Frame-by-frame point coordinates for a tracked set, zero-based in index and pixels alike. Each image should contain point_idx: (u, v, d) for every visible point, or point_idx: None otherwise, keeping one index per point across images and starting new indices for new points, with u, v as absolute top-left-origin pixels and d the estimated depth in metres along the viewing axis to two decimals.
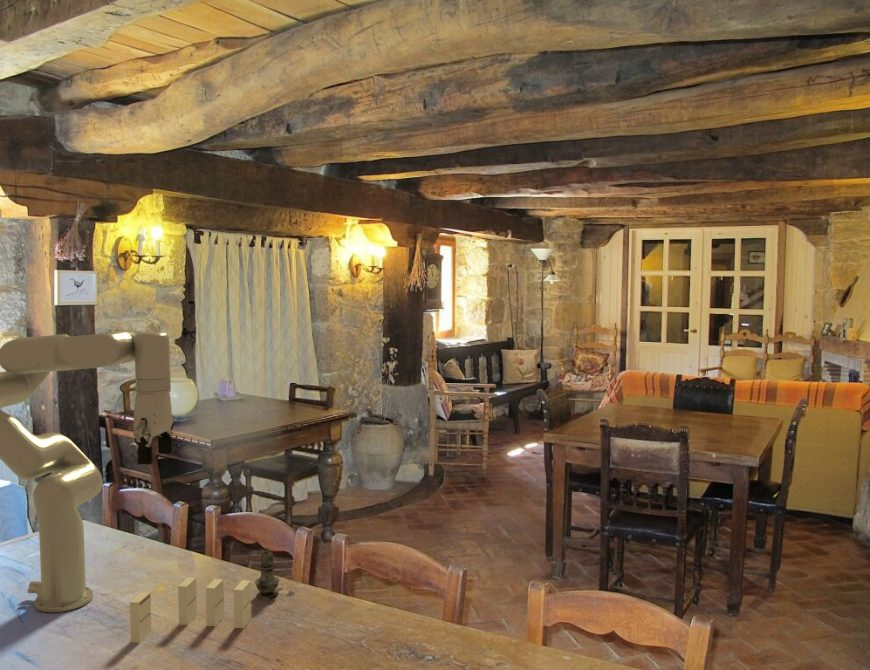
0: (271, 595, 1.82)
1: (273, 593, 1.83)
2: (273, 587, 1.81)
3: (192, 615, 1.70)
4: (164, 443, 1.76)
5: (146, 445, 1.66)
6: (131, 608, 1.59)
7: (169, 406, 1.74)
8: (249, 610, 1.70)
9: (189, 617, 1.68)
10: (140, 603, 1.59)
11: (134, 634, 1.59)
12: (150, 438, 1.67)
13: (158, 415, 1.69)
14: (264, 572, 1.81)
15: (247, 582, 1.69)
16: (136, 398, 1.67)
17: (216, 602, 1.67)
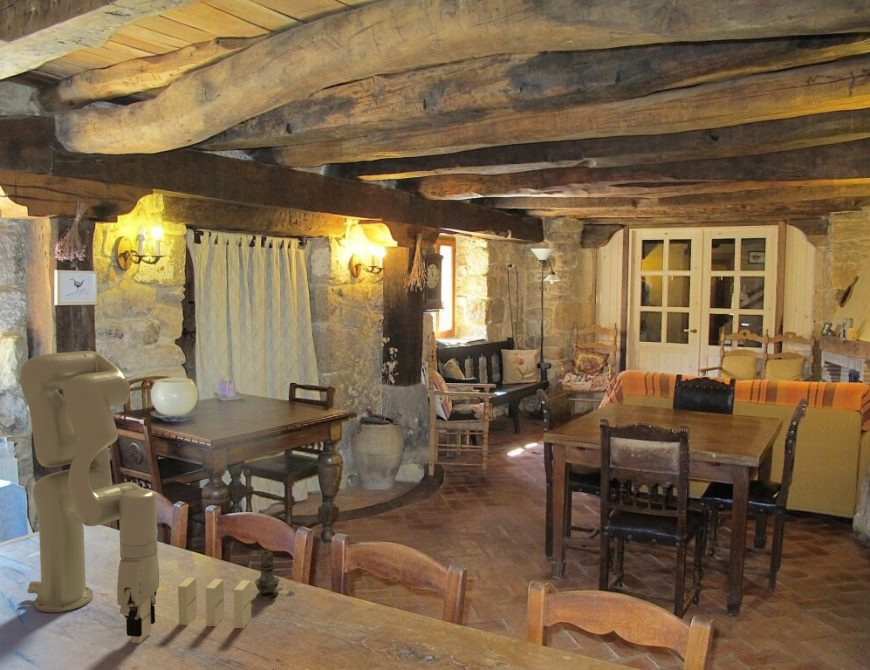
0: (271, 595, 1.82)
1: (273, 593, 1.83)
2: (273, 587, 1.81)
3: (192, 615, 1.70)
4: None
5: (135, 618, 1.57)
6: (131, 608, 1.59)
7: (156, 567, 1.63)
8: (249, 610, 1.70)
9: (189, 617, 1.68)
10: None
11: None
12: (138, 609, 1.58)
13: (143, 582, 1.58)
14: (264, 572, 1.81)
15: (247, 582, 1.69)
16: (120, 565, 1.56)
17: (216, 602, 1.67)
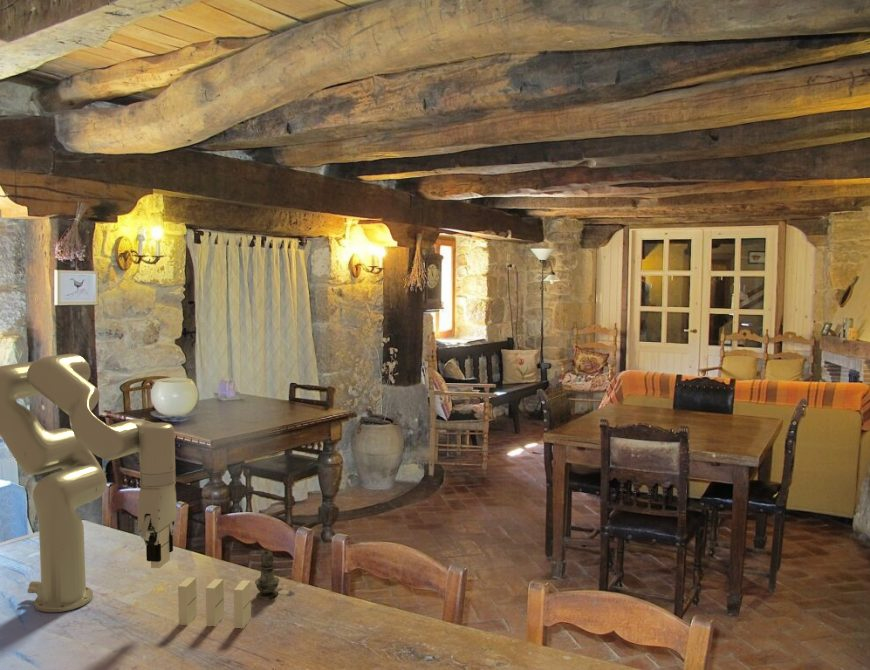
0: (271, 595, 1.82)
1: (273, 593, 1.83)
2: (273, 587, 1.81)
3: (192, 615, 1.70)
4: None
5: (155, 543, 1.65)
6: (151, 534, 1.66)
7: (174, 497, 1.71)
8: (249, 610, 1.70)
9: (189, 617, 1.68)
10: None
11: None
12: (158, 535, 1.65)
13: (162, 509, 1.65)
14: (264, 572, 1.81)
15: (247, 582, 1.69)
16: (140, 493, 1.64)
17: (216, 602, 1.67)
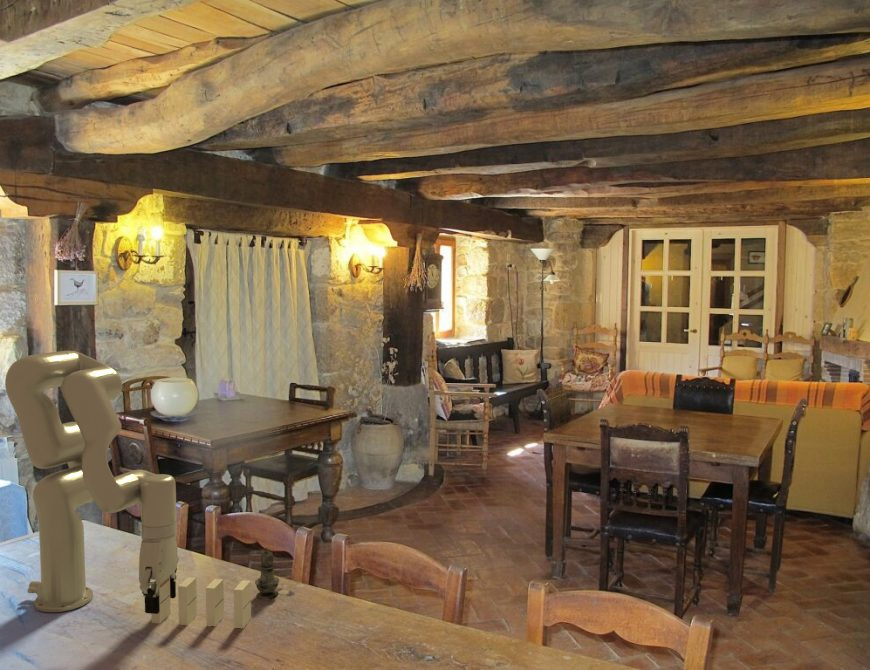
0: (271, 595, 1.82)
1: (273, 593, 1.83)
2: (273, 587, 1.81)
3: (192, 615, 1.70)
4: None
5: (153, 595, 1.65)
6: None
7: (175, 548, 1.72)
8: (249, 610, 1.70)
9: (189, 617, 1.68)
10: (160, 585, 1.68)
11: (154, 615, 1.68)
12: (157, 587, 1.66)
13: (163, 562, 1.66)
14: (264, 572, 1.81)
15: (247, 582, 1.69)
16: (141, 546, 1.65)
17: (216, 602, 1.67)
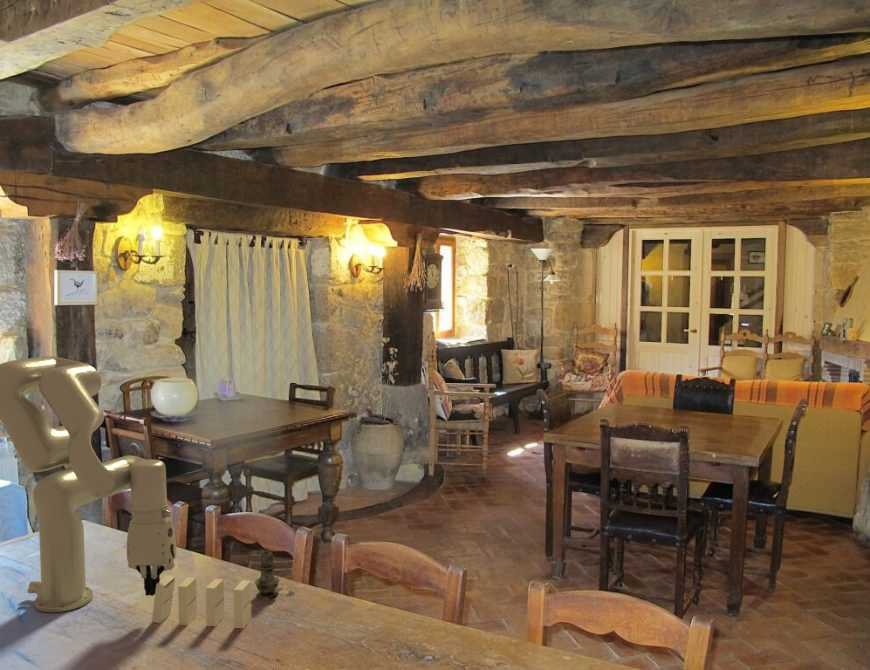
0: (271, 595, 1.82)
1: (273, 593, 1.83)
2: (273, 587, 1.81)
3: (192, 615, 1.70)
4: None
5: None
6: (156, 589, 1.67)
7: (157, 542, 1.67)
8: (249, 610, 1.70)
9: (189, 617, 1.68)
10: (165, 586, 1.68)
11: (155, 614, 1.68)
12: (141, 569, 1.69)
13: (134, 545, 1.67)
14: (264, 572, 1.81)
15: (247, 582, 1.69)
16: None
17: (216, 602, 1.67)
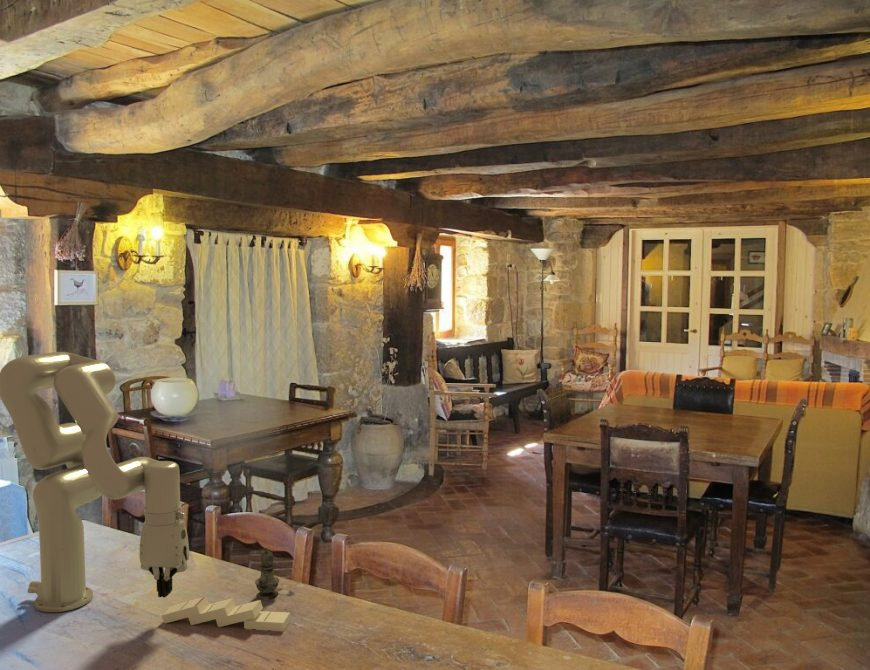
0: (271, 595, 1.82)
1: (273, 593, 1.83)
2: (273, 587, 1.81)
3: None
4: None
5: None
6: (192, 608, 1.67)
7: (171, 544, 1.66)
8: None
9: None
10: None
11: (169, 616, 1.68)
12: (154, 571, 1.68)
13: (147, 547, 1.67)
14: (264, 572, 1.81)
15: (288, 621, 1.69)
16: None
17: None
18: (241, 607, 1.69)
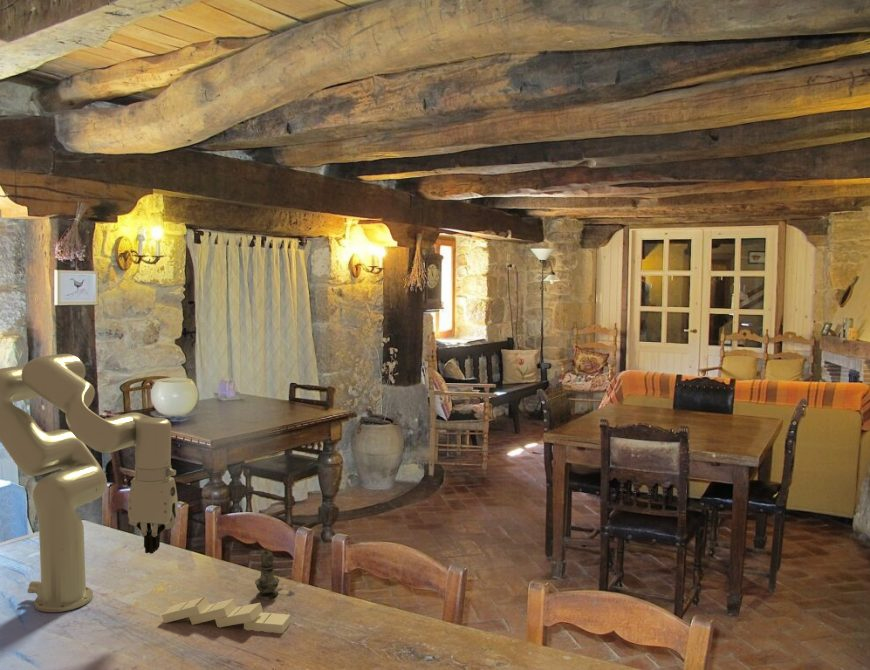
0: (271, 595, 1.82)
1: (273, 593, 1.83)
2: (273, 587, 1.81)
3: None
4: None
5: None
6: (192, 608, 1.67)
7: (160, 500, 1.66)
8: None
9: None
10: None
11: (169, 616, 1.68)
12: (142, 527, 1.68)
13: (136, 502, 1.66)
14: (264, 572, 1.81)
15: (289, 623, 1.68)
16: None
17: None
18: (241, 609, 1.68)
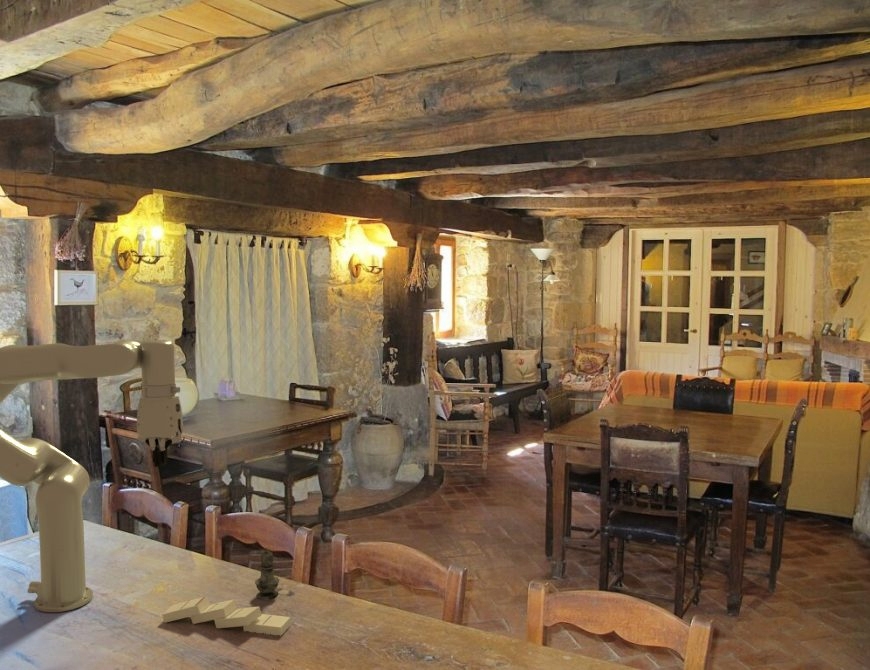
0: (271, 595, 1.82)
1: (273, 593, 1.83)
2: (273, 587, 1.81)
3: None
4: None
5: None
6: (192, 607, 1.67)
7: (166, 415, 1.78)
8: None
9: None
10: None
11: (169, 615, 1.68)
12: (150, 442, 1.80)
13: (144, 418, 1.78)
14: (264, 572, 1.81)
15: (288, 626, 1.67)
16: None
17: None
18: (240, 611, 1.67)
